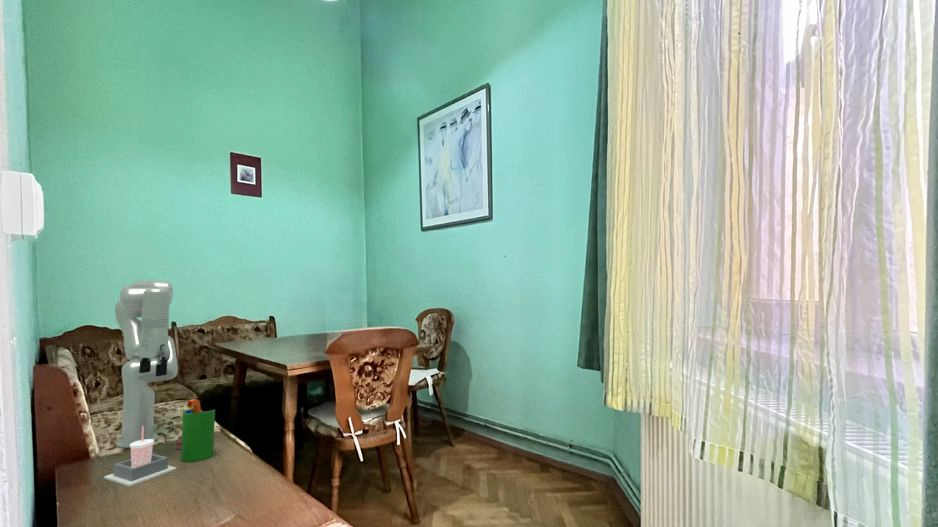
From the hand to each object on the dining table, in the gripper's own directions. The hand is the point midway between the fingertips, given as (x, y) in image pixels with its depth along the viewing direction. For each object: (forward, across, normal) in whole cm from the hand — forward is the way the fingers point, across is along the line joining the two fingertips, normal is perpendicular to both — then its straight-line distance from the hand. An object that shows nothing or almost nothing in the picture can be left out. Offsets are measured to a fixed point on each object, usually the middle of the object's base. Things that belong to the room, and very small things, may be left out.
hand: (152, 374), depth 143 cm
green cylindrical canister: (+29, +13, +8) cm, 33 cm away
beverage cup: (+28, +10, -8) cm, 31 cm away
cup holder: (+28, +11, -8) cm, 31 cm away
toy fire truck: (+30, -2, +16) cm, 34 cm away
